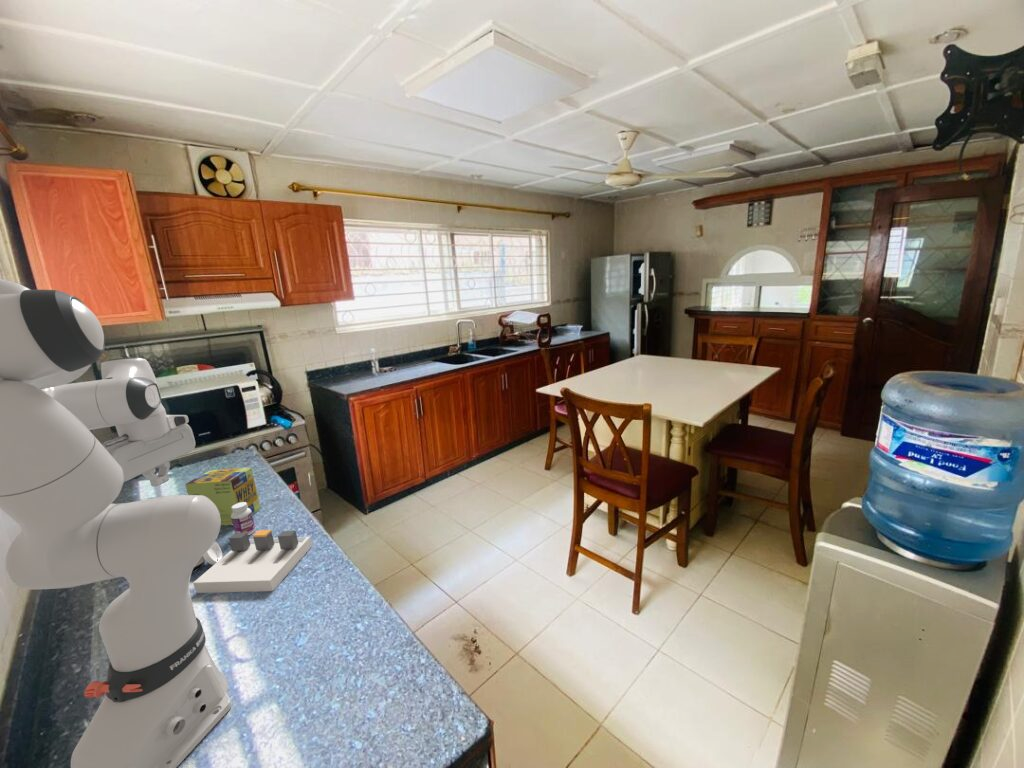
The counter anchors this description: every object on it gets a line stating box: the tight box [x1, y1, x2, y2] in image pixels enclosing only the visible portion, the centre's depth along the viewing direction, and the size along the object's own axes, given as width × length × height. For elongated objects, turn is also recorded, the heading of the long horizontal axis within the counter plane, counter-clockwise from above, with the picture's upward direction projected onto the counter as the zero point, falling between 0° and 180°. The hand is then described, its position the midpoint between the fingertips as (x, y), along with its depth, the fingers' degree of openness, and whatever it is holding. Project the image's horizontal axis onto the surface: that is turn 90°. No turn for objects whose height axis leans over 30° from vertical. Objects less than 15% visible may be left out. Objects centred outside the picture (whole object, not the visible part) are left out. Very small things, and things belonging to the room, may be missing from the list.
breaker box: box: [192, 536, 313, 594], centre depth 109 cm, size 18×20×3 cm
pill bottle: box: [231, 502, 256, 536], centre depth 126 cm, size 5×5×10 cm
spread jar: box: [192, 541, 223, 572], centre depth 111 cm, size 12×11×12 cm
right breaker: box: [277, 530, 298, 549], centre depth 111 cm, size 2×4×4 cm, turn 86°
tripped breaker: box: [252, 529, 274, 550], centre depth 112 cm, size 2×4×4 cm, turn 87°
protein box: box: [184, 467, 262, 526], centre depth 136 cm, size 10×15×16 cm
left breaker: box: [228, 532, 250, 551], centre depth 112 cm, size 2×4×4 cm, turn 86°
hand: (160, 483), depth 96 cm, fingers closed
